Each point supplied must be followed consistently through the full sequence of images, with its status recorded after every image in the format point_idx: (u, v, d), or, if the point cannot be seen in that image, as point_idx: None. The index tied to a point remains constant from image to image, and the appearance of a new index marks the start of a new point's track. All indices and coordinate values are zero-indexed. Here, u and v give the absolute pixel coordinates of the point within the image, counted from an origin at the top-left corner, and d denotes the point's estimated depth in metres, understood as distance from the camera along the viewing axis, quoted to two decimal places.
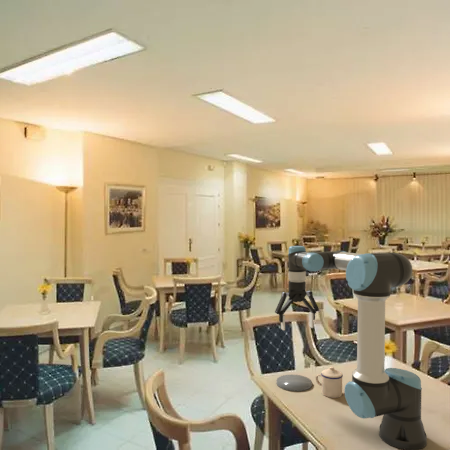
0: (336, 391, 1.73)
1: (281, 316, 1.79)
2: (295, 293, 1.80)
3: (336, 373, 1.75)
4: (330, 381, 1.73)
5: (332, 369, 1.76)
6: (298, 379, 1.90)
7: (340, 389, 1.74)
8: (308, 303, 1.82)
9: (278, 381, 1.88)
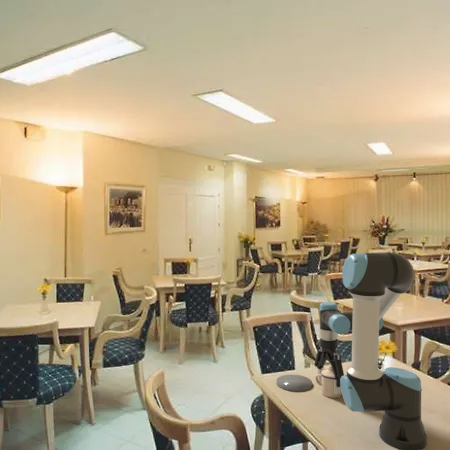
0: None
1: None
2: (324, 349, 1.79)
3: None
4: (330, 380, 1.74)
5: (332, 369, 1.76)
6: (298, 379, 1.90)
7: None
8: (332, 366, 1.73)
9: (278, 381, 1.88)
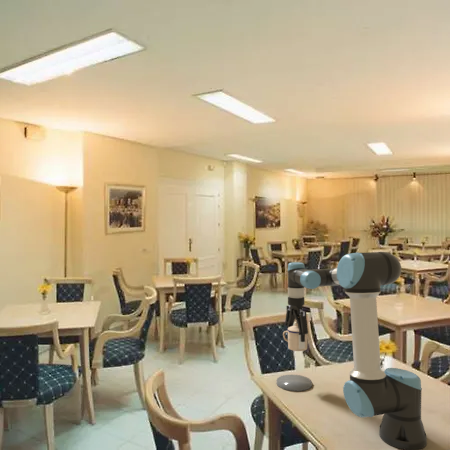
0: None
1: None
2: (292, 306, 1.88)
3: None
4: (295, 335, 1.84)
5: (297, 325, 1.87)
6: (298, 379, 1.90)
7: (305, 343, 1.84)
8: (298, 322, 1.83)
9: (278, 381, 1.88)
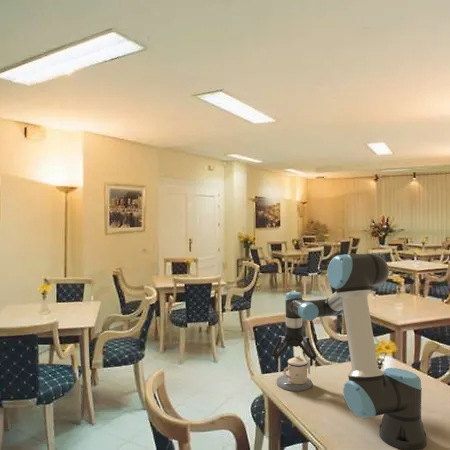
0: None
1: (277, 358, 1.88)
2: (291, 338, 1.87)
3: (303, 359, 1.88)
4: (304, 368, 1.85)
5: (299, 357, 1.88)
6: None
7: None
8: (304, 349, 1.86)
9: (278, 381, 1.88)
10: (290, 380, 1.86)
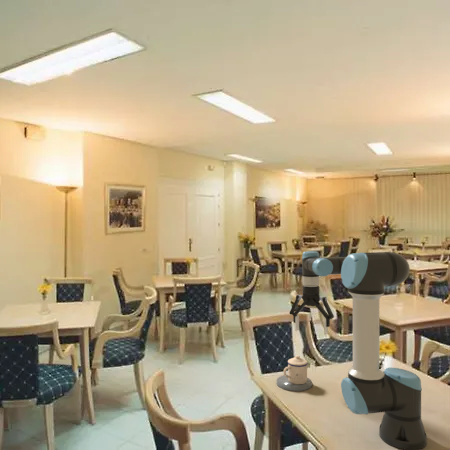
0: None
1: (294, 317, 1.90)
2: (307, 297, 1.86)
3: (303, 359, 1.88)
4: (304, 368, 1.85)
5: (299, 357, 1.88)
6: None
7: None
8: (320, 309, 1.83)
9: (278, 381, 1.88)
10: (290, 380, 1.86)
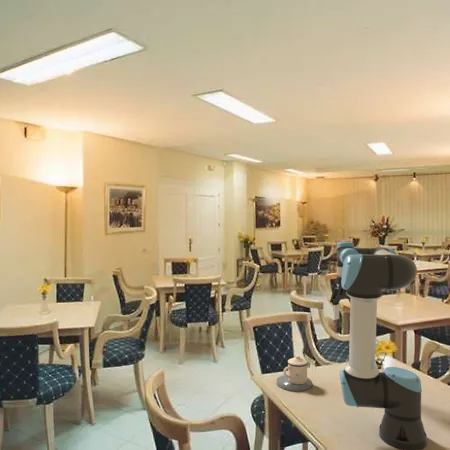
0: None
1: None
2: (341, 287, 1.86)
3: (303, 359, 1.88)
4: (304, 368, 1.85)
5: (299, 357, 1.88)
6: None
7: None
8: (350, 300, 1.81)
9: (278, 381, 1.88)
10: (290, 380, 1.86)
